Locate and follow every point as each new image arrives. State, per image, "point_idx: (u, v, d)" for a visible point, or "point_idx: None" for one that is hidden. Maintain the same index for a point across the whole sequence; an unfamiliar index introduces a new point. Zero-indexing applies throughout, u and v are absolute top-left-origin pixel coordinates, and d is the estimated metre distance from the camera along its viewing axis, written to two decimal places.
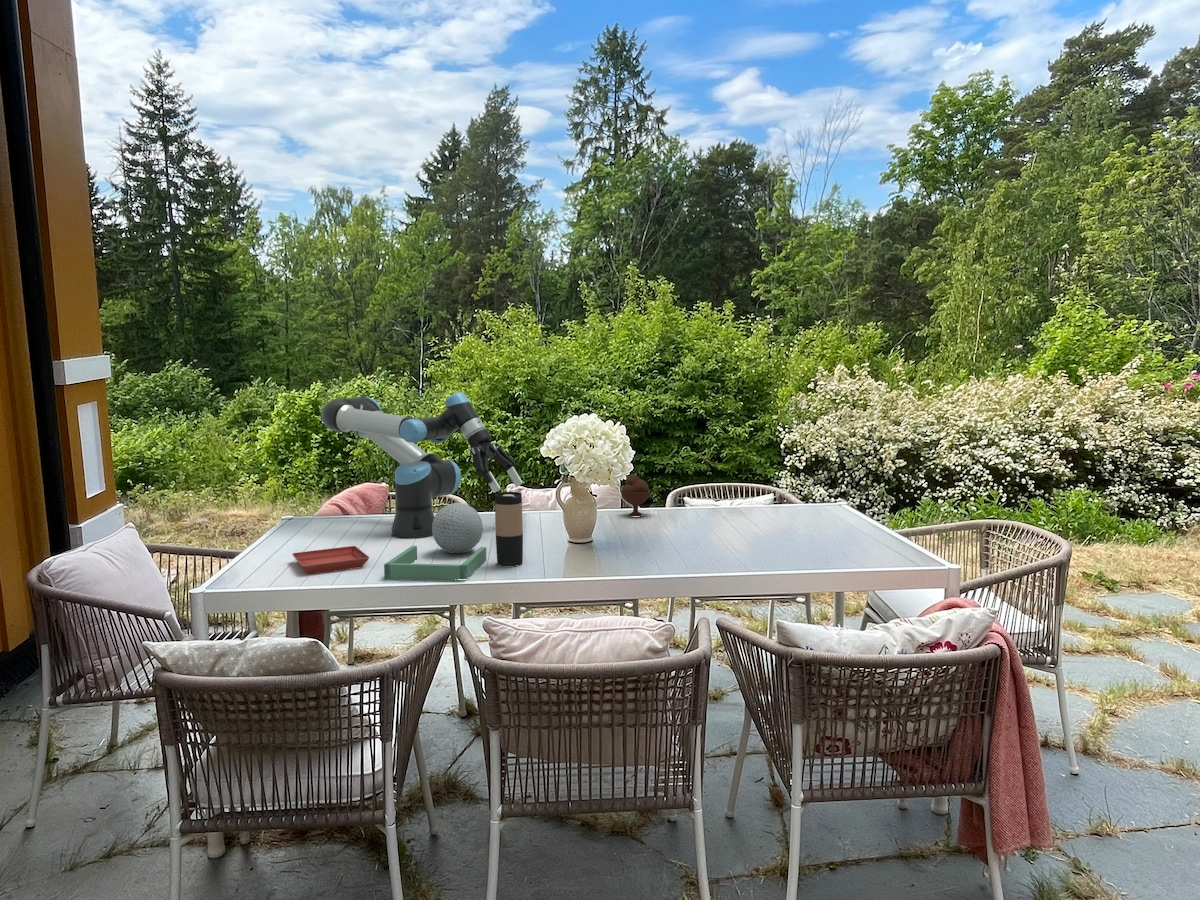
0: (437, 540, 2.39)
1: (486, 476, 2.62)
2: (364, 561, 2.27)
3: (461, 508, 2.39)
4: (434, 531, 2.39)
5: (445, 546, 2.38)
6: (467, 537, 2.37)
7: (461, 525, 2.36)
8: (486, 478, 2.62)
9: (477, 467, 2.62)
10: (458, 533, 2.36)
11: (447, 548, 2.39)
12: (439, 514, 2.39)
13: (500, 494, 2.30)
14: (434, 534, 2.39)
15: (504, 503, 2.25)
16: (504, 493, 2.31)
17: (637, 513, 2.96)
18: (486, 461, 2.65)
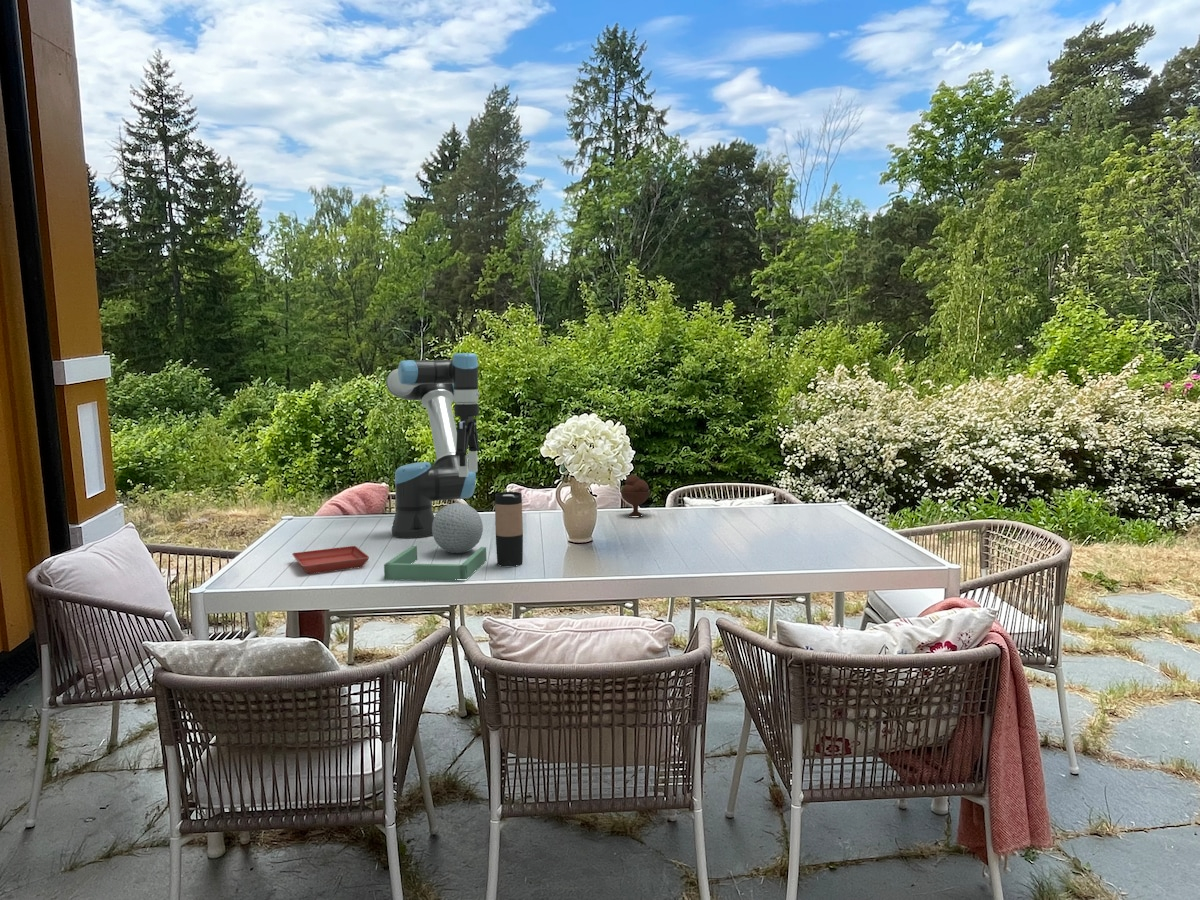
0: (437, 540, 2.39)
1: (462, 459, 2.47)
2: (364, 561, 2.27)
3: (461, 508, 2.39)
4: (434, 531, 2.39)
5: (445, 546, 2.38)
6: (467, 537, 2.37)
7: (461, 525, 2.36)
8: (461, 461, 2.47)
9: (459, 446, 2.45)
10: (458, 533, 2.36)
11: (447, 548, 2.39)
12: (439, 514, 2.39)
13: (500, 494, 2.30)
14: (434, 534, 2.39)
15: (504, 503, 2.25)
16: (504, 493, 2.31)
17: (637, 513, 2.96)
18: (467, 441, 2.49)
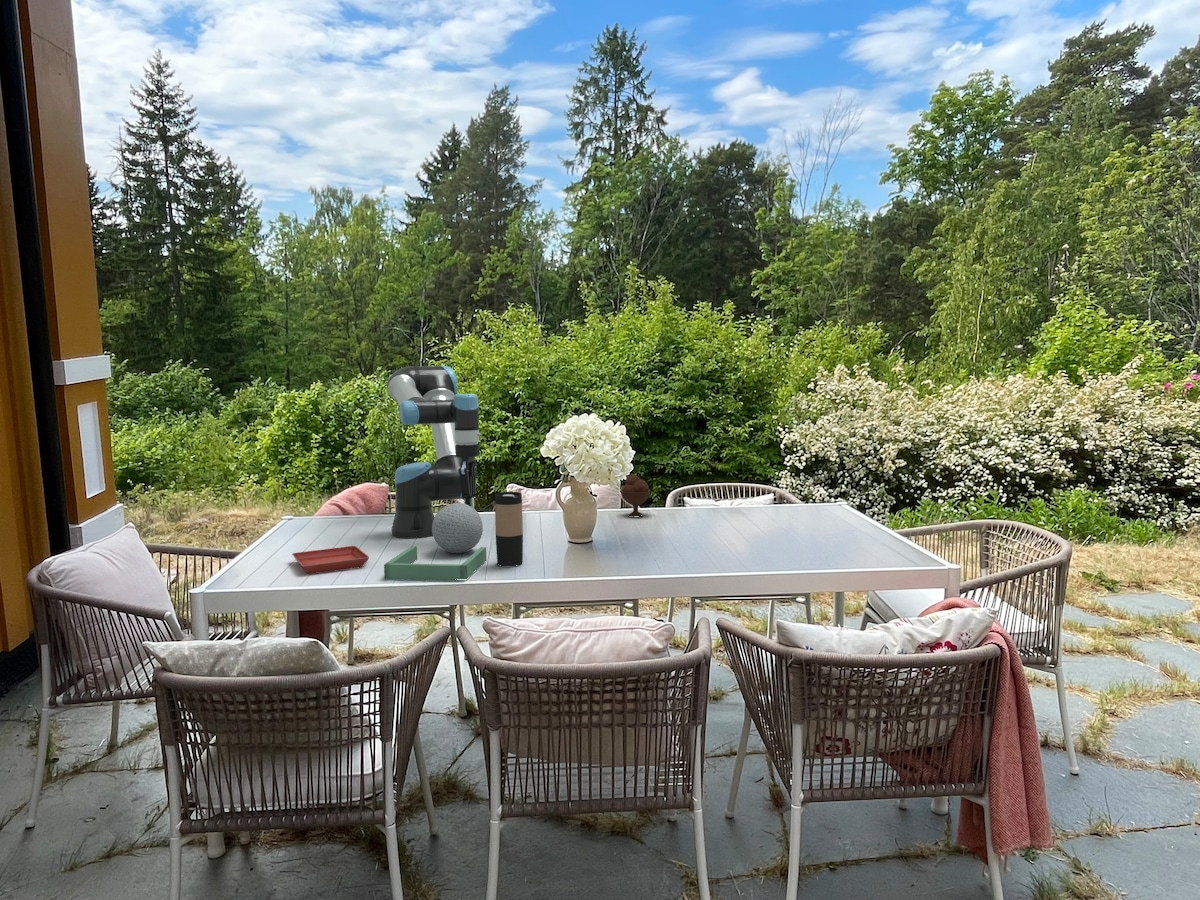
0: (437, 540, 2.39)
1: (468, 502, 2.53)
2: (364, 561, 2.27)
3: (461, 508, 2.39)
4: (434, 531, 2.39)
5: (445, 546, 2.38)
6: (467, 537, 2.37)
7: (461, 525, 2.36)
8: (467, 503, 2.53)
9: (464, 491, 2.51)
10: (458, 533, 2.36)
11: (447, 548, 2.39)
12: (439, 514, 2.39)
13: (500, 494, 2.30)
14: (434, 534, 2.39)
15: (504, 503, 2.25)
16: (504, 493, 2.31)
17: (637, 513, 2.96)
18: (471, 483, 2.53)
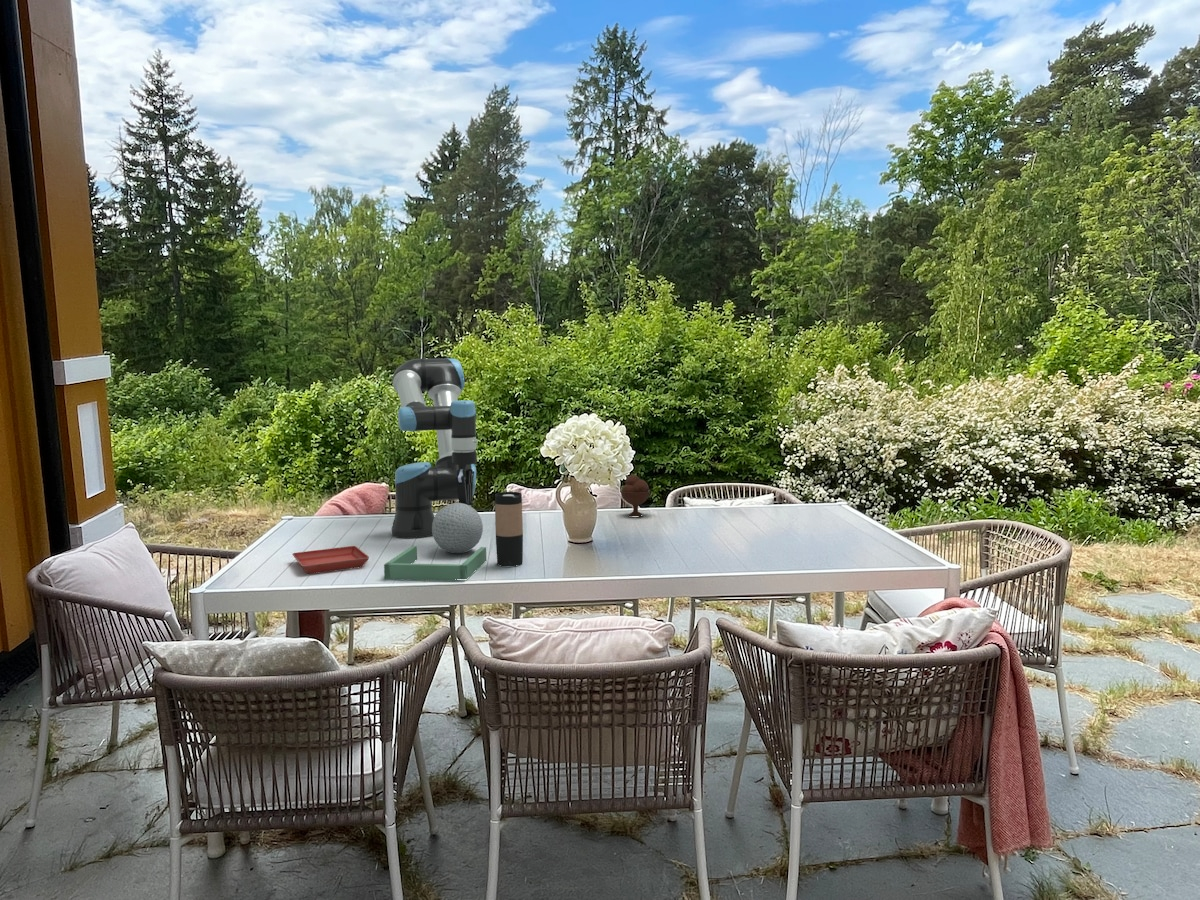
0: (437, 540, 2.39)
1: None
2: (364, 561, 2.27)
3: (461, 508, 2.39)
4: (434, 531, 2.39)
5: (445, 546, 2.38)
6: (467, 537, 2.37)
7: (461, 525, 2.36)
8: None
9: (461, 499, 2.47)
10: (458, 533, 2.36)
11: (447, 548, 2.39)
12: (439, 514, 2.39)
13: (500, 494, 2.30)
14: (434, 534, 2.39)
15: (504, 503, 2.25)
16: (504, 493, 2.31)
17: (637, 513, 2.96)
18: (468, 491, 2.50)
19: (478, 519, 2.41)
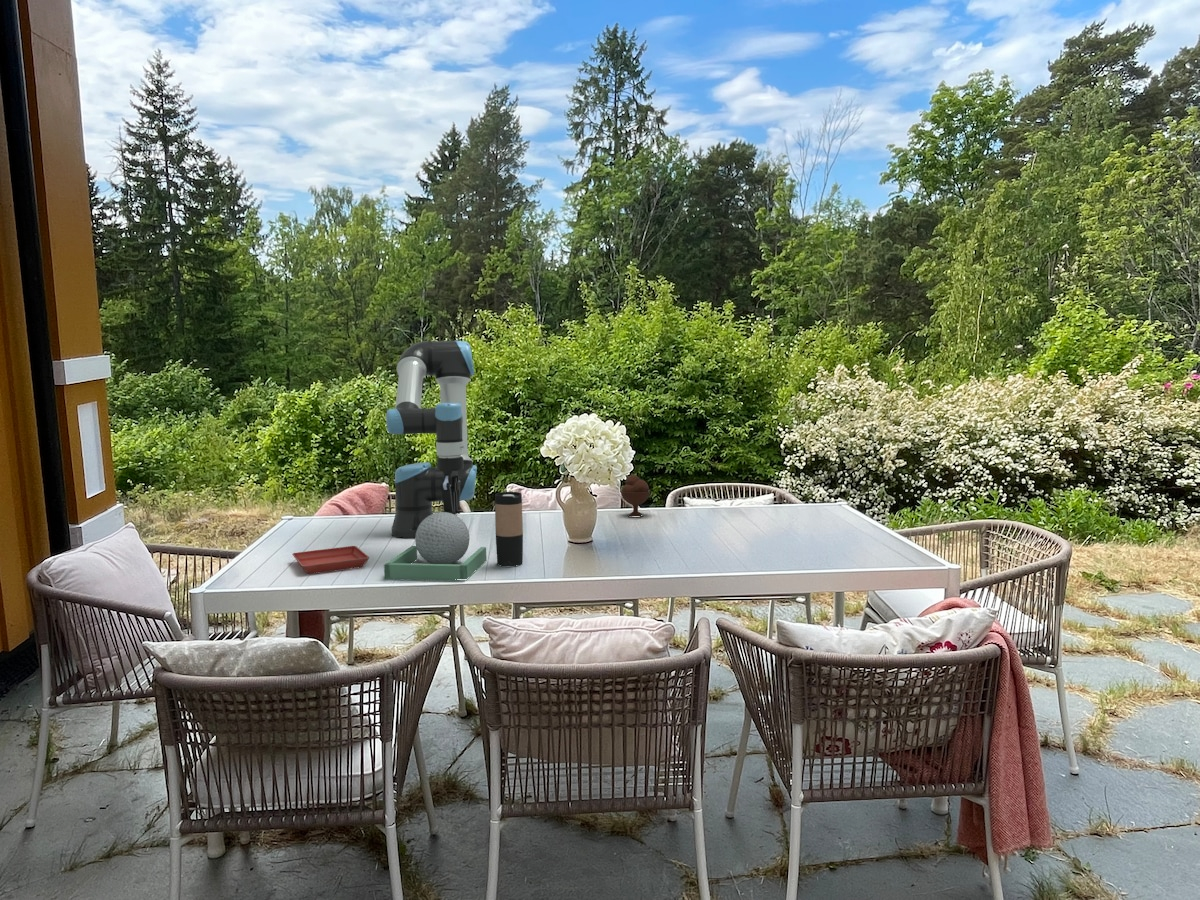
0: (420, 552, 2.24)
1: None
2: (364, 561, 2.27)
3: (446, 518, 2.25)
4: (417, 542, 2.24)
5: (429, 558, 2.24)
6: (452, 549, 2.23)
7: (446, 536, 2.22)
8: None
9: (447, 508, 2.33)
10: (442, 544, 2.21)
11: (431, 560, 2.24)
12: (423, 524, 2.25)
13: (500, 494, 2.30)
14: (417, 545, 2.25)
15: (504, 503, 2.25)
16: (504, 493, 2.31)
17: (637, 513, 2.96)
18: (454, 499, 2.35)
19: (464, 529, 2.27)
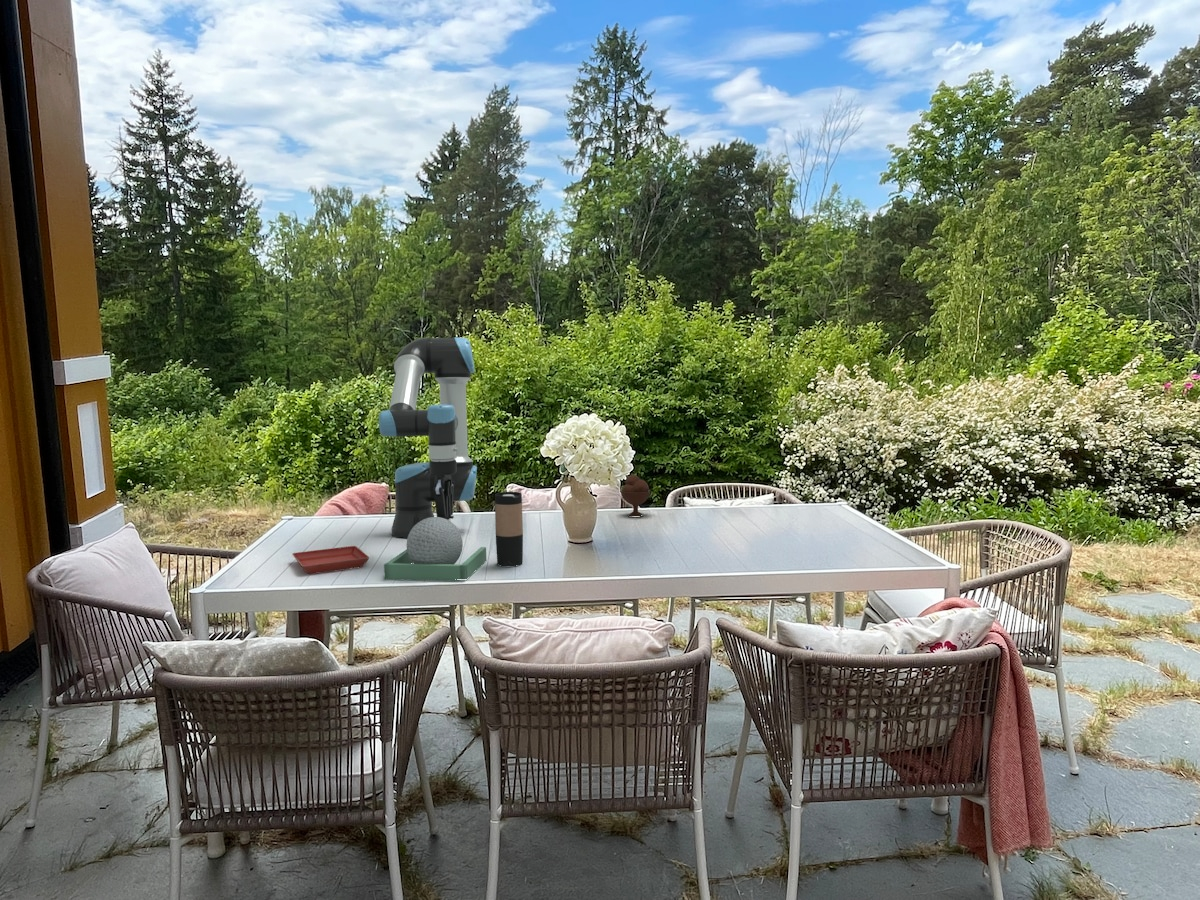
0: (412, 558, 2.18)
1: None
2: (364, 561, 2.27)
3: (438, 523, 2.18)
4: (408, 548, 2.18)
5: None
6: (444, 555, 2.16)
7: (438, 542, 2.15)
8: None
9: (439, 513, 2.26)
10: (434, 550, 2.15)
11: None
12: (414, 529, 2.18)
13: (500, 494, 2.30)
14: (408, 551, 2.18)
15: (504, 503, 2.25)
16: (504, 493, 2.31)
17: (637, 513, 2.96)
18: (447, 504, 2.28)
19: (457, 535, 2.20)
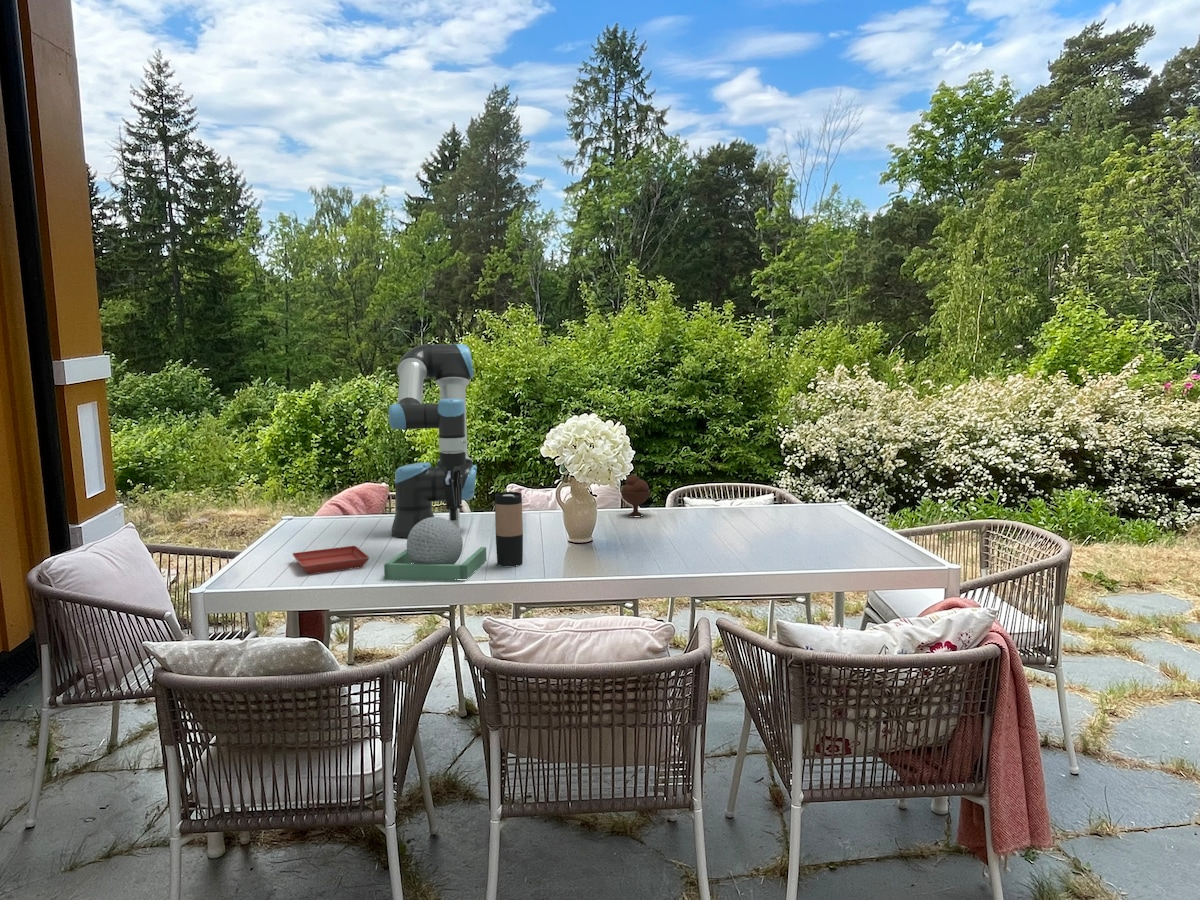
0: (412, 558, 2.18)
1: (453, 513, 2.39)
2: (364, 561, 2.27)
3: (438, 523, 2.18)
4: (408, 548, 2.18)
5: None
6: (444, 555, 2.16)
7: (438, 542, 2.15)
8: (452, 515, 2.39)
9: (449, 502, 2.36)
10: (434, 550, 2.15)
11: None
12: (414, 529, 2.18)
13: (500, 494, 2.30)
14: (408, 551, 2.18)
15: (504, 503, 2.25)
16: (504, 493, 2.31)
17: (637, 513, 2.96)
18: (456, 494, 2.39)
19: (457, 535, 2.20)
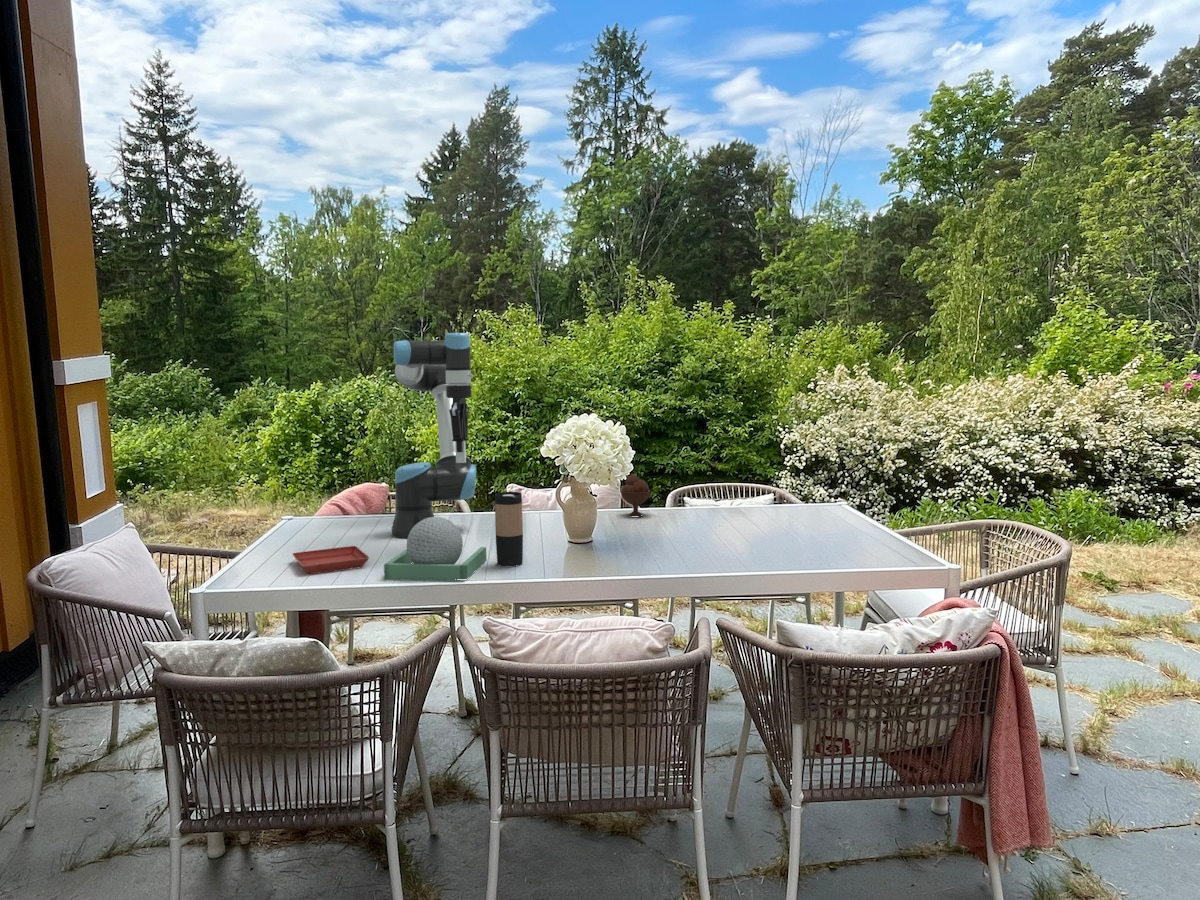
0: (412, 558, 2.18)
1: (459, 445, 2.45)
2: (364, 561, 2.27)
3: (438, 523, 2.18)
4: (408, 548, 2.18)
5: None
6: (444, 555, 2.16)
7: (438, 542, 2.15)
8: (458, 446, 2.45)
9: (455, 433, 2.43)
10: (434, 550, 2.15)
11: None
12: (414, 529, 2.18)
13: (500, 494, 2.30)
14: (408, 551, 2.18)
15: (504, 503, 2.25)
16: (504, 493, 2.31)
17: (637, 513, 2.96)
18: (462, 426, 2.45)
19: (457, 535, 2.20)
